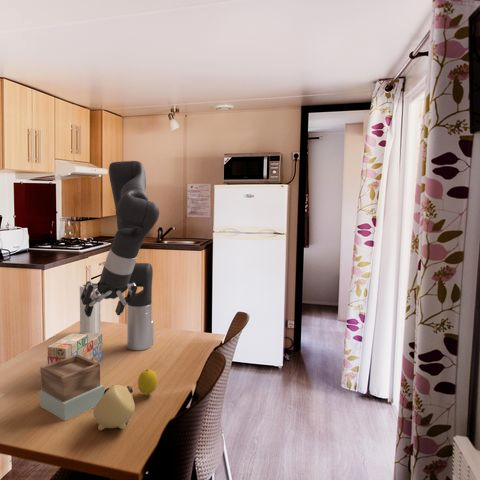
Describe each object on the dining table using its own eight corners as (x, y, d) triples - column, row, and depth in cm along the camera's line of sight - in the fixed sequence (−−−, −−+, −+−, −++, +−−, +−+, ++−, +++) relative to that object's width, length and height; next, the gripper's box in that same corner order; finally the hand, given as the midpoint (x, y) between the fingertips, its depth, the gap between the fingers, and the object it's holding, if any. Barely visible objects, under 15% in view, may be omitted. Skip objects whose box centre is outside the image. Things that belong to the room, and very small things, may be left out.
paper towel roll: (77, 336, 158) (76, 286, 156) (85, 331, 164) (84, 283, 162) (93, 337, 157) (92, 287, 155) (100, 332, 163) (100, 284, 161)
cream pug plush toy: (138, 411, 104) (138, 373, 103) (130, 438, 92) (130, 396, 91) (101, 412, 103) (101, 374, 102) (88, 439, 91) (88, 397, 90)
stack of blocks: (87, 357, 138) (86, 324, 137) (103, 358, 137) (102, 325, 136) (47, 384, 117) (46, 346, 116) (66, 386, 116) (65, 347, 115)
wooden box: (77, 375, 114) (77, 354, 113) (100, 385, 107) (100, 363, 107) (41, 389, 104) (40, 367, 104) (63, 402, 98) (63, 378, 98)
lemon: (140, 401, 108) (140, 374, 108) (136, 392, 113) (136, 367, 113) (159, 397, 111) (159, 371, 110) (154, 388, 116) (154, 363, 115)
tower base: (79, 390, 115) (79, 374, 114) (104, 402, 108) (104, 385, 107) (40, 407, 105) (39, 390, 104) (64, 422, 98) (64, 403, 98)
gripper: (138, 260, 109) (122, 305, 114) (88, 257, 99) (73, 306, 105) (148, 274, 104) (131, 321, 109) (96, 273, 94) (80, 324, 99)
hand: (102, 314), depth 107 cm, fingers open, 8 cm apart
